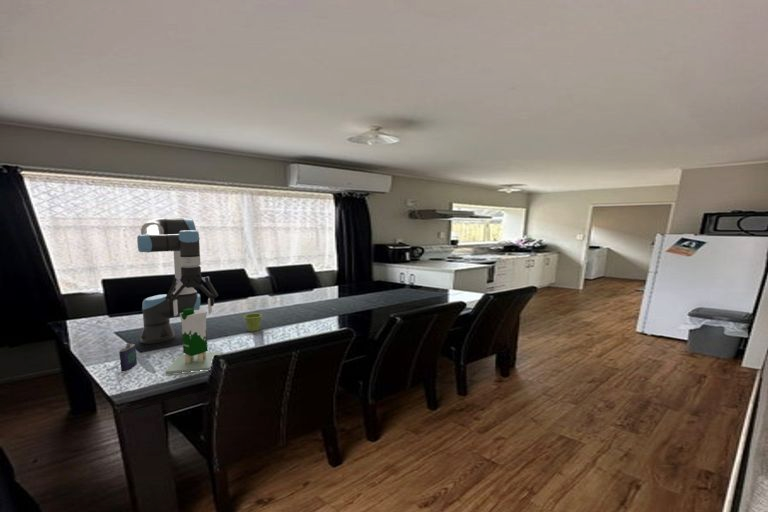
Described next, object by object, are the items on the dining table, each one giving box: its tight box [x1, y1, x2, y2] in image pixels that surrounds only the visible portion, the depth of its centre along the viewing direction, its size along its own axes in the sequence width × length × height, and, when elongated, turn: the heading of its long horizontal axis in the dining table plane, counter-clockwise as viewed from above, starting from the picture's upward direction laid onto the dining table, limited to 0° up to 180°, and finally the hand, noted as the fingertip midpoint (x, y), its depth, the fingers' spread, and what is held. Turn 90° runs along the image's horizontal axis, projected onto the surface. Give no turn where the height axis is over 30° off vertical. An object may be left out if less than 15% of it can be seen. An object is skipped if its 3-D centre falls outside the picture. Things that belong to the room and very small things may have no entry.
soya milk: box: [179, 308, 208, 356], centre depth 150 cm, size 9×9×20 cm
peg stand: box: [165, 351, 223, 375], centre depth 151 cm, size 18×18×6 cm
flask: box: [118, 343, 138, 372], centre depth 147 cm, size 9×3×11 cm, turn 8°
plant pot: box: [244, 313, 263, 333], centre depth 198 cm, size 9×9×9 cm
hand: (193, 314), depth 149 cm, fingers open, 13 cm apart
